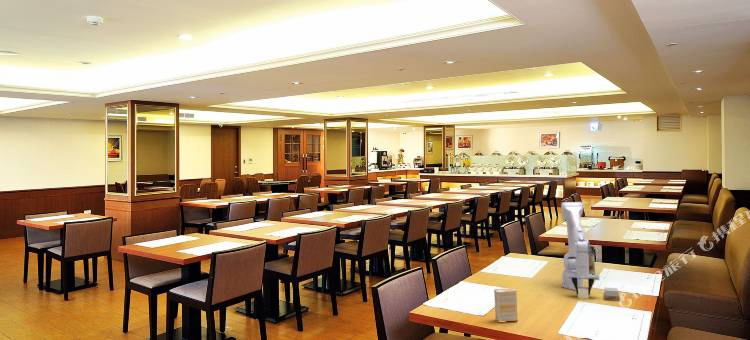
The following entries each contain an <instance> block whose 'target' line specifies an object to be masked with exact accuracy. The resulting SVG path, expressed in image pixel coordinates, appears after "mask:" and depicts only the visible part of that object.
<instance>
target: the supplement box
mask: <svg viewBox="0 0 750 340" xmlns="http://www.w3.org/2000/svg"><path fill="white" fill-rule="evenodd" d="M493 290H494V291H493V294H494V313H495V314H494V315H495V320H496V319H497V320H498V321H518V304H517V303H518V298H517V297H518V296H517V290H516V289H514V288H512V287H511V288H494V289H493ZM497 320H496V321H497ZM498 321H497V322H498Z"/></svg>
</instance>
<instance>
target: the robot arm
mask: <svg viewBox="0 0 750 340" xmlns="http://www.w3.org/2000/svg"><path fill="white" fill-rule="evenodd" d="M560 211H561V218H562V219H563V220H564V221H565V222H566V229H567V230H566V231H567V241H568V242H567V243H568V252H566V253H565V254H564V256H563V268H564V270H563V272H562V275H561V276H562V278H561V279H562V280H561V281H562V286H561V288H563V287H564V288H565V289H568V290H572V291H575V293H576V295H578V286H580V287H585V286H584V280H587V282H588V285H587V287H588V296H590V295H591V291H592V287H593V285H594V283H595V281H600V275H599V274H597V275H596V274H595V275H590V274H589V255H588V253H589V252H590V246H591V245H590V241H589V240H588V238H587V236H586V232H585V231H586V230H585V229H584V228H583V227H582V222H581V218H582V216H583V212H584V204H583V202H581V201H575V202H574V201H571V202H570V201H568V202H564V201H562V202H561V204H560ZM574 257H576V258H574Z"/></svg>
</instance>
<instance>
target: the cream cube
mask: <svg viewBox="0 0 750 340" xmlns="http://www.w3.org/2000/svg"><path fill="white" fill-rule="evenodd" d="M577 298H578V299H587V300H588V299H589V295H588V286H584V287H580V286H578V294H577Z"/></svg>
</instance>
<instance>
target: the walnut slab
mask: <svg viewBox="0 0 750 340" xmlns="http://www.w3.org/2000/svg"><path fill="white" fill-rule="evenodd" d="M603 300H604V301H608V302H620V301H621V296H620V293H619V292H618V297H615V296H605V291H604V292H603Z"/></svg>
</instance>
